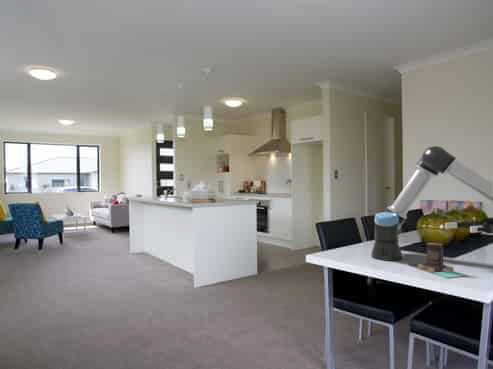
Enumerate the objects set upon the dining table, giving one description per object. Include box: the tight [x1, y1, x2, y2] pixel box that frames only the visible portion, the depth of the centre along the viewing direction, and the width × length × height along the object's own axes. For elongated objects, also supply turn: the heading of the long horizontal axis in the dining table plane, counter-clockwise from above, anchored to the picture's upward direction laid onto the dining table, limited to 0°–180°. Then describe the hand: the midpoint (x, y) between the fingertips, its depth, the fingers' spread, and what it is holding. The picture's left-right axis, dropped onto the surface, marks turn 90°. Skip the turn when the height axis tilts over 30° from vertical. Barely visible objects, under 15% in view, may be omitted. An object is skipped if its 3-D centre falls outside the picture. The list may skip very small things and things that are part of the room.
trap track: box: [408, 262, 454, 274], centre depth 159 cm, size 15×11×2 cm
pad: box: [432, 270, 469, 279], centre depth 148 cm, size 8×11×1 cm
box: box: [426, 242, 444, 272], centre depth 156 cm, size 6×4×12 cm
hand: (457, 227), depth 159 cm, fingers open, 13 cm apart
